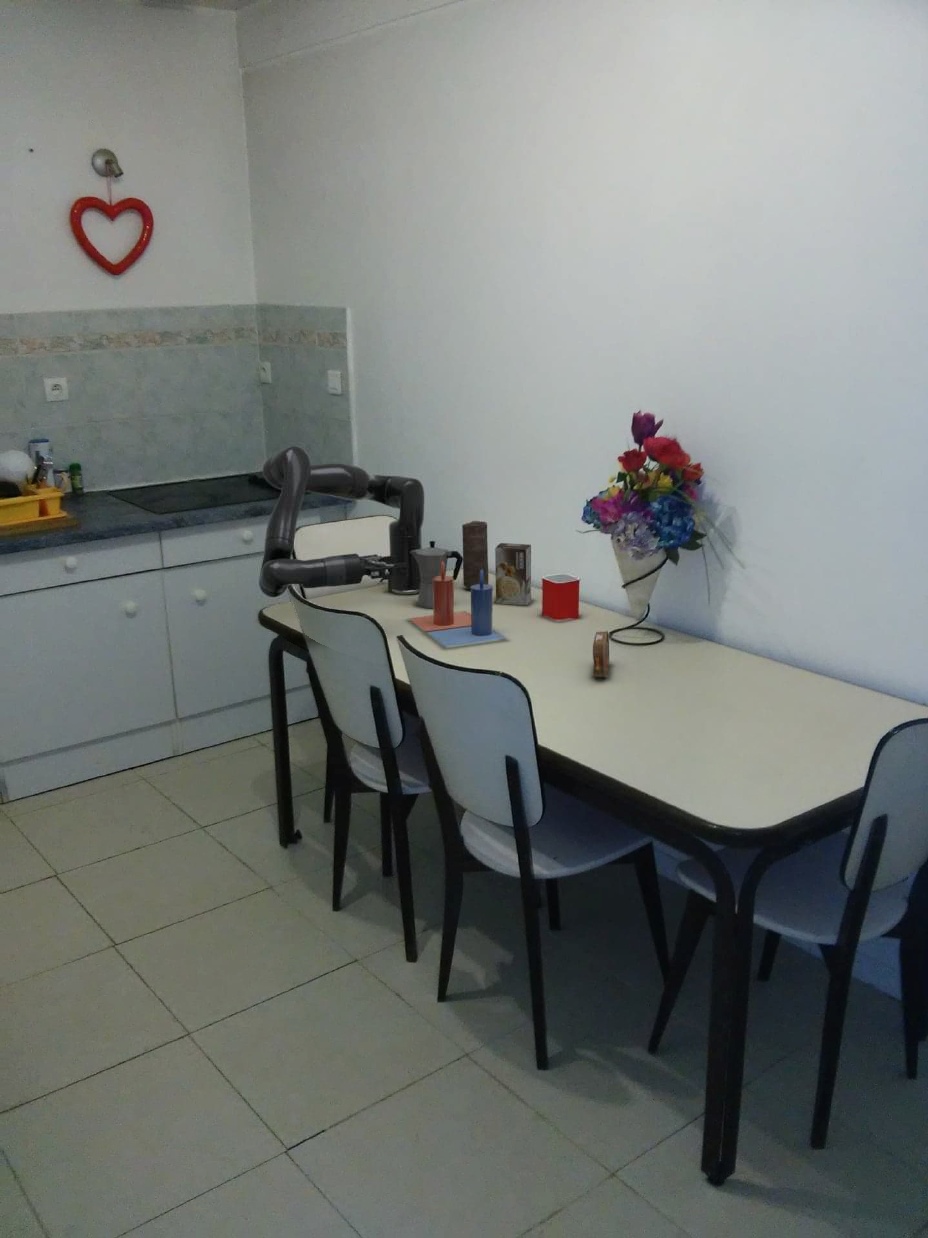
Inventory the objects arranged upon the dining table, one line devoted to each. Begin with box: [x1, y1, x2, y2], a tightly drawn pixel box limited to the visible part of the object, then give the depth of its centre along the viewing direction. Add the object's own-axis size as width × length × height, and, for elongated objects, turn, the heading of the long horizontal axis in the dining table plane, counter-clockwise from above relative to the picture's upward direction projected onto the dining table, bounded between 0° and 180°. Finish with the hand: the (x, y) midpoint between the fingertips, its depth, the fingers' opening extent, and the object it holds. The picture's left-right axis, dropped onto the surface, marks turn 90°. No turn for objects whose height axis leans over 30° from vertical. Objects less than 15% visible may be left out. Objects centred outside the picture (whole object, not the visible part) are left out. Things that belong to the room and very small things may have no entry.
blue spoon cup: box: [470, 570, 494, 636], centre depth 267 cm, size 5×5×16 cm
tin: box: [592, 630, 610, 679], centre depth 242 cm, size 15×3×8 cm, turn 168°
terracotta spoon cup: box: [432, 561, 455, 626], centre depth 275 cm, size 5×5×16 cm
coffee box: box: [494, 542, 532, 606], centre depth 296 cm, size 9×6×16 cm
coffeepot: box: [410, 540, 463, 610], centre depth 294 cm, size 15×9×18 cm, turn 70°
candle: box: [461, 520, 490, 590], centre depth 309 cm, size 8×7×20 cm
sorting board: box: [408, 611, 506, 648], centre depth 273 cm, size 16×26×1 cm, turn 23°
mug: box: [541, 572, 581, 621], centre depth 284 cm, size 12×8×11 cm
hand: (402, 563), depth 269 cm, fingers open, 8 cm apart
